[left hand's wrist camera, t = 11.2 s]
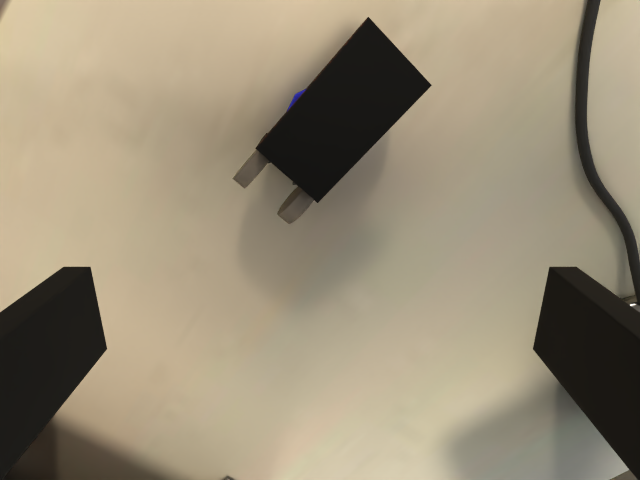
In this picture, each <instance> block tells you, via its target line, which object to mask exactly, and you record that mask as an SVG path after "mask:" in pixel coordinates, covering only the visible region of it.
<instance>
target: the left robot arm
mask: <svg viewBox="0 0 640 480" xmlns="http://www.w3.org/2000/svg"><path fill="white" fill-rule="evenodd" d="M599 5H600V0H588V4H587V9H586V14H585V18H584V23H583V29H582V34H581V40H580V47H579V54H578V64H577V80H576V103H575V123H576V136H577V143H578V148H579V153H580V158H581V161H582V165H583V168H584V171H585V174H586V176H587V178H588V180H589V182H590V184H591V186H592V187H593V189H594V191H595V192H596V193H597V195H598V196H599V197H600V199H601V200H602V201H603V203H604V204H605V205H606V207H607V208H608V209H609V210H610V212H611V213H612V215H613V216H614V218H615V220H616V221H617V223H618V225H619V227H620V229H621V232H622V234H623V237H624V240H625V244H626V248H627V254H628V260H629V265H630V271H631V275H632V280H633V285H634V289H635V294H636V295H634V296H631V297H628V298H625V299H620V298H619V297H618V296H616V295H615V294H613V293H612V292H611V291H609V290H608V289H606V288H605V287H604V286H602V285H601V284H599V283H598V282H597V281H595V280H594V279H593V278H591V277H590V276H588V275H587V274H586V273H584V272H583V271H581V270H580V269H579V268H577V267H549V272H548V277H547V282H546V287H545V292H544V297H543V302H542V307H541V312H540V317H539V322H538V327H537V332H536V337H535V342H534V346H533V350H534V351H535V352H536V353H537V355H538V356H539V357H540V358H541V360H542V361H543V362H544V363H545V365H546V366H547V367H548V368H549V370H550V371H551V372H552V373H553V375H554V376H555V377H556V378H557V380H558V381H559V382H560V383H561V385H562V386H563V387H564V388H565V390H566V391H567V392H568V393H569V395H570V396H571V397H572V398H573V400H574V401H575V402H576V403H577V405H578V406H579V407H580V408H581V410H582V411H583V412H584V413H585V415H586V416H587V417H588V418H589V420H590V421H591V422H592V423H593V425H594V426H595V427H596V428H597V430H598V431H599V432H600V433H601V435H602V436H603V437H604V438H605V440H606V441H607V442H608V443H609V445H610V446H611V447H612V448H613V450H614V451H615V452H616V453H617V455H618V456H619V457H620V458H621V460H622V461H623V462H624V463H625V465H626V466H627V467H628V468H629V470H628V471H626V472H624V473H622V474H620V475H618V476H616V477H614V478H612V479H610V480H640V260H639V254H638V248H637V243H636V239H635V236H634V233H633V230H632V228H631V226H630V223H629V222H628V220H627V218H626V216H625V214H624V213H623V211H622V210H621V208H620V207H619V206H618V204H617V203H616V202H615V200H614V199H613V198H612V196H611V195H610V194H609V192H608V191H607V190H606V188H605V187H604V185H603V183H602V182H601V180H600V178H599V176H598V174H597V171H596V169H595V166H594V163H593V159H592V155H591V151H590V145H589V139H588V130H587V93H588V76H589V62H590V53H591V46H592V40H593V34H594V29H595V24H596V19H597V14H598V10H599ZM106 350H107V346H106V342H105V337H104V332H103V327H102V322H101V317H100V312H99V307H98V302H97V297H96V292H95V287H94V282H93V277H92V272H91V267H63V268H61V269H60V270H59V271H57V272H56V273H54V274H53V275H52V276H50V277H49V278H47V279H46V280H45V281H43V282H42V283H41V284H39V285H38V286H36V287H35V288H34V289H32V290H31V291H29V292H28V293H27V294H25V295H24V296H22V297H21V298H20V299H18V300H17V301H15V302H14V303H13V304H11V305H10V306H9V307H7V308H6V309H4V310H3V311H2V312H0V480H3V478H4V477H5V476H6V475H7V473H8V472H9V471H10V470H11V468H12V467H13V466H14V465H15V463H16V462H17V461H18V460H19V458H20V457H21V456H22V455H23V453H24V452H25V451H26V450H27V448H28V447H29V446H30V445H31V443H32V442H33V441H34V440H35V438H36V437H37V436H38V435H39V433H40V432H41V431H42V430H43V428H44V427H45V426H46V425H47V423H48V422H49V421H50V420H51V418H52V417H53V416H54V415H55V413H56V412H57V411H58V410H59V408H60V407H61V406H62V405H63V403H64V402H65V401H66V400H67V398H68V397H69V396H70V395H71V393H72V392H73V391H74V390H75V388H76V387H77V386H78V385H79V383H80V382H81V381H82V380H83V378H84V377H85V376H86V375H87V373H88V372H89V371H90V370H91V368H92V367H93V366H94V365H95V363H96V362H97V361H98V360H99V358H100V357H101V356H102V355H103V353H104V352H105V351H106Z"/></svg>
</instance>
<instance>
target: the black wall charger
mask: <svg viewBox="0 0 640 480" xmlns="http://www.w3.org/2000/svg"><path fill="white" fill-rule="evenodd" d="M430 86H431V84H430V83H429V82H428V81H427V80H426V79H425V78H424V77H423V75H422V74H421V73H420V72H419V71H418V70H417V69H416V68H415V67H414V66H413V65H412V64H411V63H410V61H409V60H408V59H407V58H406V57H405V56H404V55H403V54H402V53H401V52H400V51H399V50H398V48H397V47H396V46H395V45H394V44H393V43H392V42H391V41H390V40H389V39H388V38H387V37H386V36H385V34H384V33H383V32H382V31H381V30H380V29H379V28H378V27H377V26H376V25H375V24H374V23H373V21H372V20H371V19H370V18H369V17H368V18H367V19H366V20H365V21H364V22H363V23H362V25H361V26H360V27H359V28H358V29H357V30H356V32H355V33H354V34H353V35H352V36H351V37H350V39H349V40H348V41H347V42H346V43H345V44H344V46H343V47H342V48H341V49H340V50H339V51H338V53H337V54H336V55H335V56H334V57H333V58H332V60H331V61H330V62H329V63H328V64H327V65H326V67H325V68H324V69H323V70H322V71H321V72H320V74H319V75H318V76H317V77H316V78H315V79H314V81H313V82H312V83H311V84H310V85H309V86H308V88H307V89H305V90H303V91H301V92H299V93H296V94H295V96H294V98H293V100H292V102H291V104H290V106H289V108H288V110H287V112H286V113H285V114H284V115H283V117H282V118H281V119H280V120H279V121H278V122H277V124H276V125H275V126H274V127H273V128H272V129H271V131H270V132H269V133H268V134H267V133H266V135H265V136H264V137H263V138H262V139H261V141H260V143H259V144H258V146H257V147H256V148H255V149H257V150H256V151H255V152H254V153H253V154H252V156H251V157H250V158H249V159H248V160H247V161H246V163H245V164H244V165H243V166H242V167H241V169H240V170H239V171H238V172H237V173H236V175H235V176H234V177H233V179H234V180H235V181H236V182H237V183H238V184H240V185H241V186H242V187H243V188H246V187H247V186H248V185H249V184H250V183H251V182H252V181H253V180H254V179H255V177H256V176H257V175H258V174H259V173H260V172H261V170H262V169H263V168H264V167H265V166H266V164H267V163H273V164H274V165H275V166H276V167H277V168H278V169H279V170H281V171H282V172H283V173H284V174H285V175H286V176H287V177H289V178H290V179H291V180H292V181H293V185H296V184H297V185H298V187H297V188H296V189H295V190H294V191H293V192H292V193H291V194H290V196H289V197H288V198H287V199H286V200H285V202H284V203H283V204H282V206H281V207H280V209H279V211H278V213H277V215H279V216H280V217H281V218H282V219H283V220H285V221H286V222H287V223H288V224H291V223H292V222H294V221H295V220H296V219H297V218H299V217H300V216H301V215H302V214H303V213H304V211H305V210H306V209H307V208H308V207H309V206H310V204H311V203H312V202H313V200H315V201H316V202H317V203H318V202H319V201H320V200H321V199H322V198H323V197H324V196H325V195H326V194H327V193H328V192H329V191H330V190H331V189H332V188H333V187H334V186H335V185H336V183H337V182H338V181H339V180H340V179H341V178H342V177H343V176H344V175H345V174H346V173H347V172H348V171H349V170H350V169H351V168H352V167H353V166H354V165H355V164H356V163H357V162H358V161H359V160H360V159H361V158H362V157H363V156H364V155H365V154H366V153H367V151H368V150H369V149H370V148H371V147H372V146H373V145H374V144H375V143H376V142H377V141H378V140H379V139H380V138H381V137H382V136H383V135H384V134H385V133H386V132H387V131H388V130H389V129H390V128H391V127H392V126H393V125H394V124H395V123H396V122H397V121H398V120H399V118H400V117H401V116H402V115H403V114H404V113H405V112H406V111H407V110H408V109H409V108H410V107H411V106H412V105H413V104H414V103H415V102H416V101H417V100H418V99H419V98H420V97H421V96H422V95H423V94H424V93H425V92H426V91H427V90H428V89H429V88H430Z"/></svg>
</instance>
